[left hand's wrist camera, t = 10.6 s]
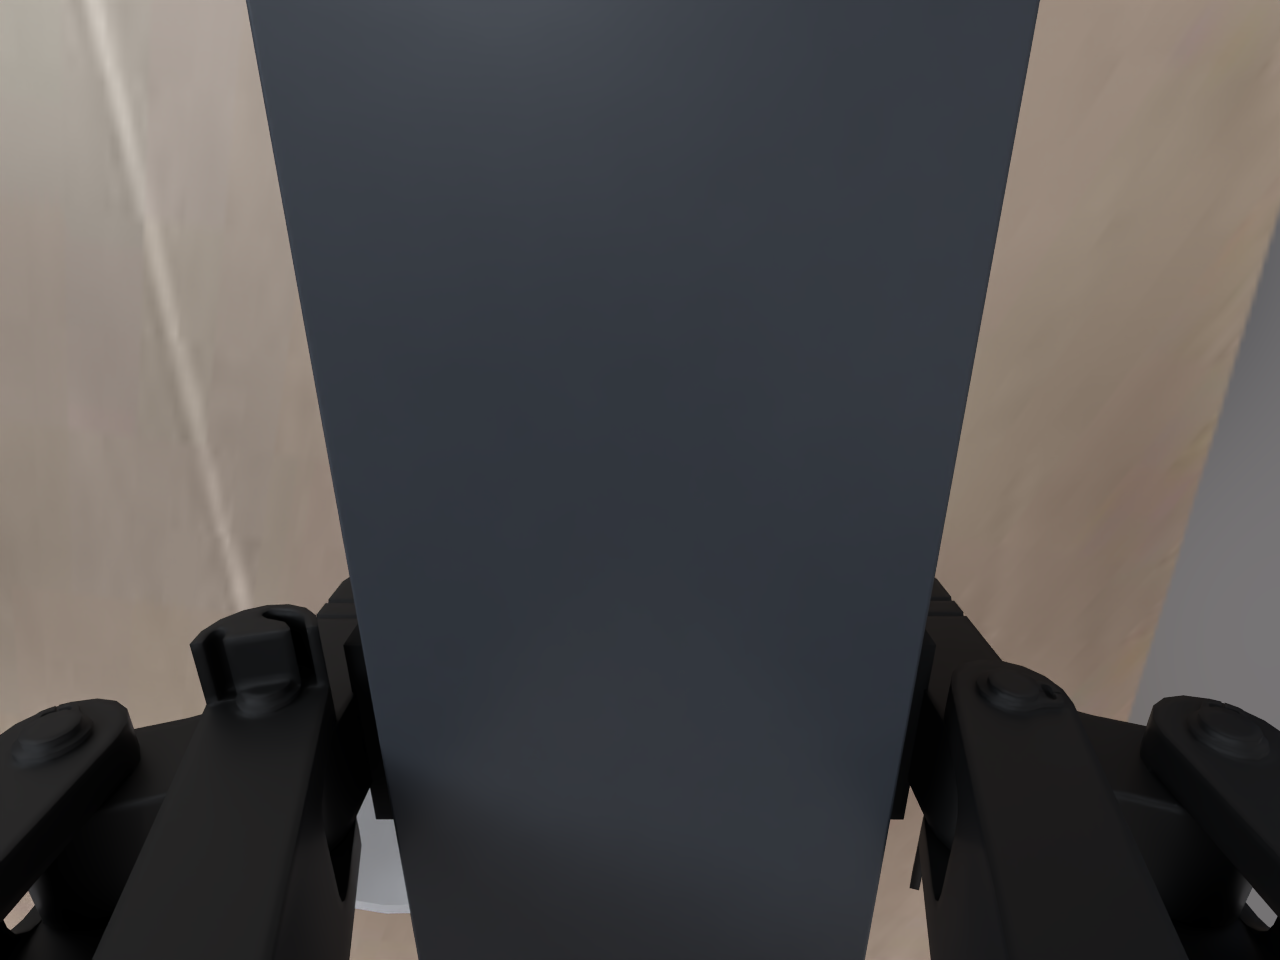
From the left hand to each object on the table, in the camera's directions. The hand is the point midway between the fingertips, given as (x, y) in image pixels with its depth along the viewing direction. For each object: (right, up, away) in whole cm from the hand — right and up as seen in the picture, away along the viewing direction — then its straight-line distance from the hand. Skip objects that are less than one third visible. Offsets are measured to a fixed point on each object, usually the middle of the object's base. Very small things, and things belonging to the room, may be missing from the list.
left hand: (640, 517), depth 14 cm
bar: (0, +7, -2) cm, 7 cm away
